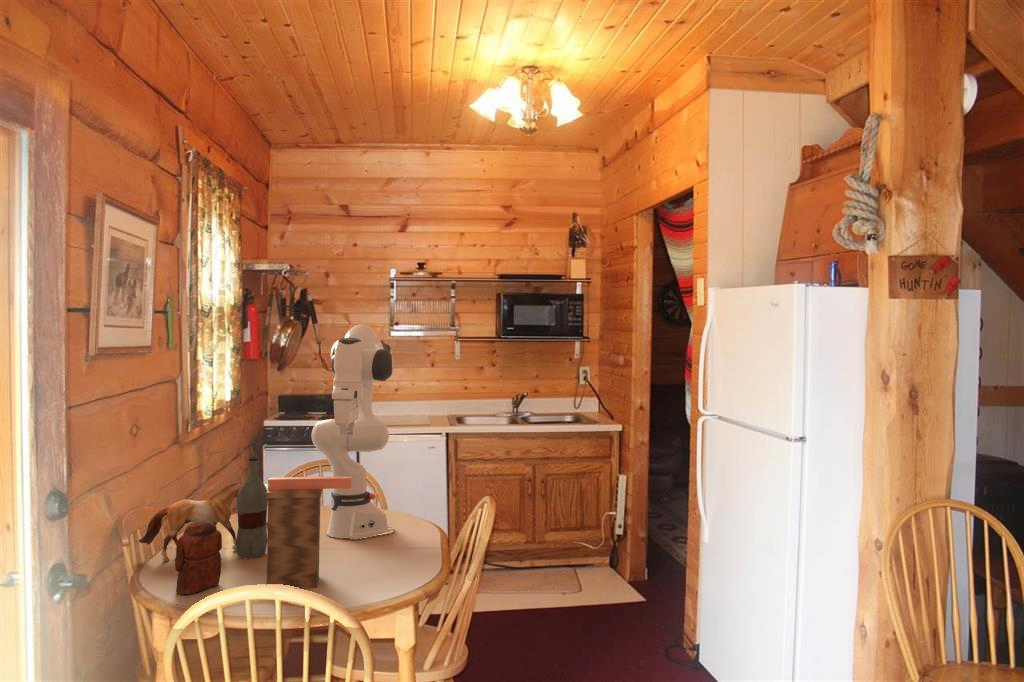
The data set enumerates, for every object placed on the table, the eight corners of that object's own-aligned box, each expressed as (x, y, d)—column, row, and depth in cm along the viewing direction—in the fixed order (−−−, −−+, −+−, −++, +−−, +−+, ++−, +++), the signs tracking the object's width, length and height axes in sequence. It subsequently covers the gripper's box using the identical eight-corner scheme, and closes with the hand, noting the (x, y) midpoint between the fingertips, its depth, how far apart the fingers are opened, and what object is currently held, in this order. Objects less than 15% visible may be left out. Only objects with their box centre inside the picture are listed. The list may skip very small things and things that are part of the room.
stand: (320, 575, 211) (322, 484, 210) (318, 588, 201) (320, 491, 201) (268, 578, 208) (270, 484, 208) (264, 590, 198) (266, 492, 198)
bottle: (240, 550, 233) (242, 454, 232) (270, 550, 234) (272, 454, 233) (231, 559, 223) (233, 459, 223) (263, 559, 224) (265, 459, 224)
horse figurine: (245, 544, 239) (246, 480, 239) (251, 551, 232) (253, 485, 232) (137, 559, 222) (139, 490, 222) (141, 566, 215) (142, 495, 215)
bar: (351, 486, 208) (351, 476, 208) (351, 488, 206) (351, 478, 206) (269, 487, 204) (269, 477, 204) (267, 489, 201) (268, 479, 201)
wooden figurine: (207, 580, 205) (208, 515, 205) (223, 584, 202) (224, 518, 202) (169, 593, 194) (171, 524, 194) (186, 598, 191) (187, 528, 191)
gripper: (344, 389, 235) (343, 433, 235) (330, 393, 215) (329, 441, 215) (364, 390, 236) (363, 433, 235) (352, 394, 215) (351, 442, 215)
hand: (347, 437), depth 225 cm, fingers open, 8 cm apart
